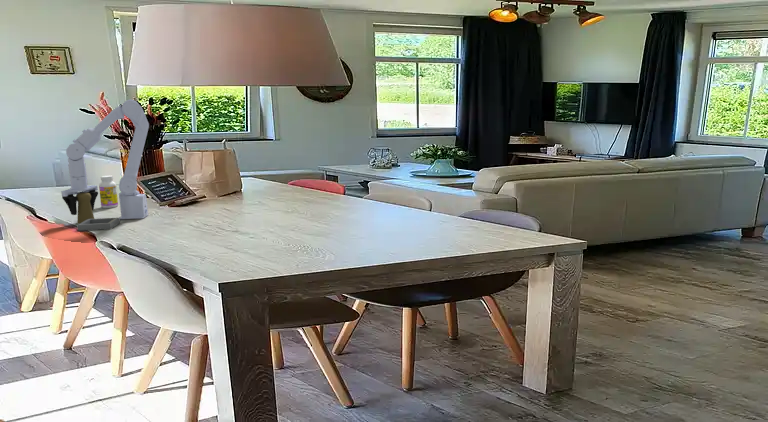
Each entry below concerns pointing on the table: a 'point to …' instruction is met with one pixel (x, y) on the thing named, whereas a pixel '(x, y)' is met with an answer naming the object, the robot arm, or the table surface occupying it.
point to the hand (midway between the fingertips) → (82, 212)
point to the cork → (84, 207)
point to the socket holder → (98, 224)
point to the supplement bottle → (108, 192)
